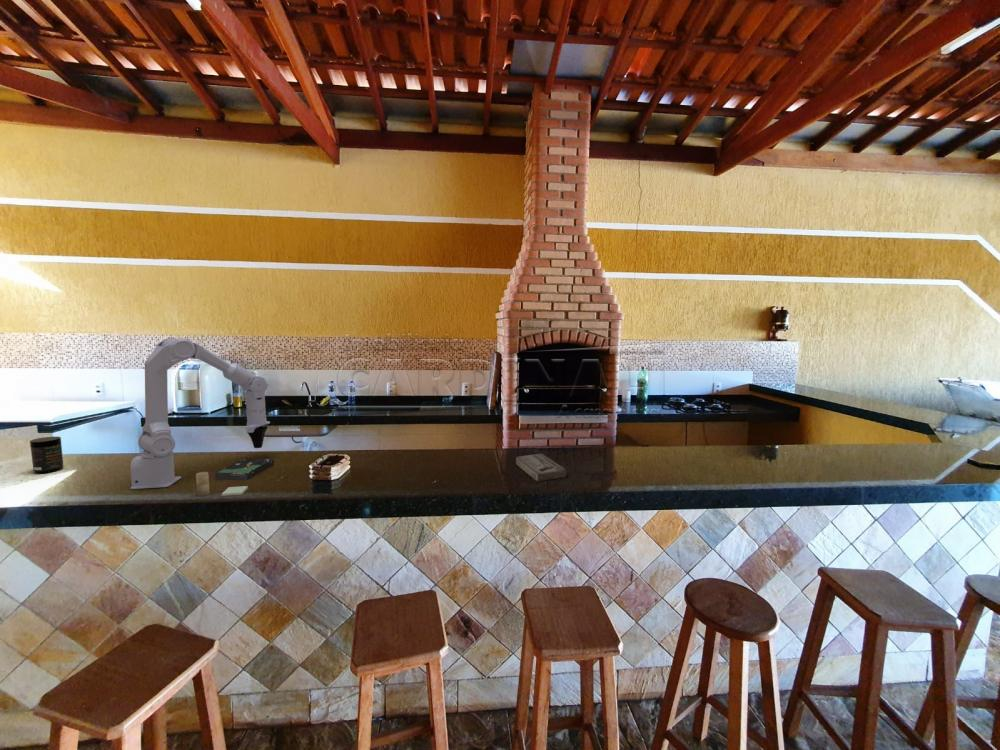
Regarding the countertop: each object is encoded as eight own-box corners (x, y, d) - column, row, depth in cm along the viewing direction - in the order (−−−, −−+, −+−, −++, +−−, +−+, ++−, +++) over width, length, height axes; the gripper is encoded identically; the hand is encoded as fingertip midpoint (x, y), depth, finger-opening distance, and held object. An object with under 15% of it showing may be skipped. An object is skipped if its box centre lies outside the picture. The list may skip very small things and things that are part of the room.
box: (541, 460, 151) (541, 452, 151) (566, 477, 135) (567, 468, 135) (514, 464, 147) (514, 456, 147) (537, 483, 131) (537, 473, 131)
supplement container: (70, 467, 137) (67, 436, 136) (50, 474, 131) (46, 441, 130) (47, 467, 137) (44, 436, 136) (26, 474, 130) (22, 442, 129)
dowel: (195, 496, 116) (194, 475, 115) (200, 492, 118) (198, 472, 118) (206, 495, 116) (205, 474, 116) (211, 491, 119) (210, 471, 118)
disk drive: (245, 465, 144) (214, 480, 129) (244, 457, 143) (214, 471, 129) (274, 466, 143) (247, 481, 129) (274, 458, 143) (247, 472, 128)
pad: (221, 495, 116) (221, 493, 116) (228, 489, 121) (228, 487, 121) (241, 494, 117) (241, 492, 117) (248, 487, 122) (247, 485, 122)
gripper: (262, 413, 140) (264, 453, 141) (274, 405, 154) (276, 441, 155) (238, 414, 138) (240, 454, 139) (253, 406, 152) (255, 442, 153)
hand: (258, 447), depth 147 cm, fingers closed
